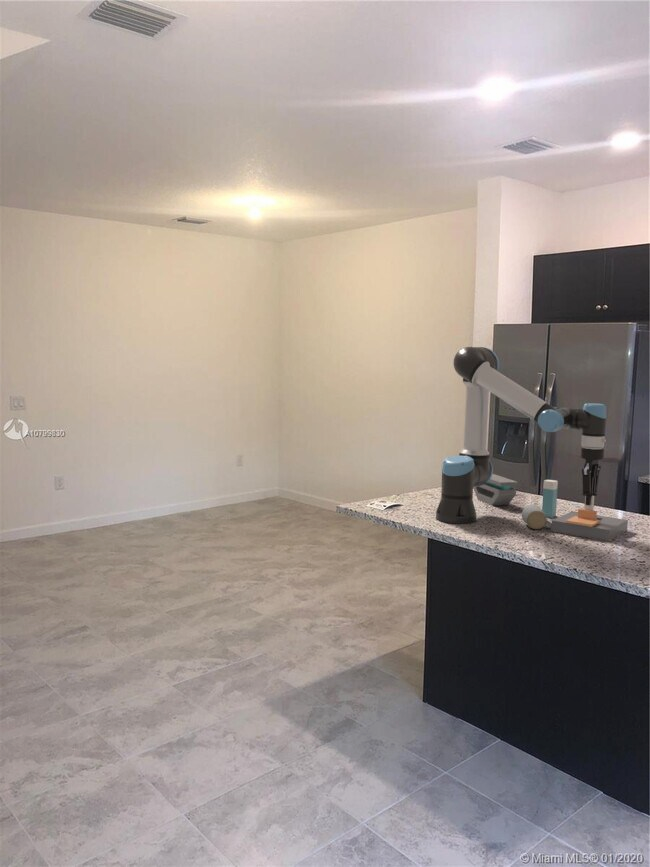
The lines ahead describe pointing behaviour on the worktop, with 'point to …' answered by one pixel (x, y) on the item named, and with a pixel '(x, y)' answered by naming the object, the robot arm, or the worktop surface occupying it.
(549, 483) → the teal plug
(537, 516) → the ceramic mug
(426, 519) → the worktop surface
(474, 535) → the worktop surface
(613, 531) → the socket block
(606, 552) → the worktop surface
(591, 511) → the terracotta shutter
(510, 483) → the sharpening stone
